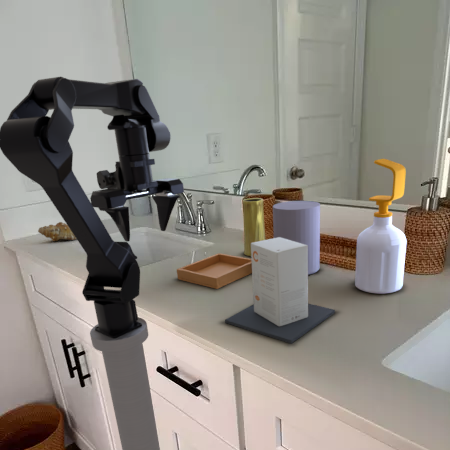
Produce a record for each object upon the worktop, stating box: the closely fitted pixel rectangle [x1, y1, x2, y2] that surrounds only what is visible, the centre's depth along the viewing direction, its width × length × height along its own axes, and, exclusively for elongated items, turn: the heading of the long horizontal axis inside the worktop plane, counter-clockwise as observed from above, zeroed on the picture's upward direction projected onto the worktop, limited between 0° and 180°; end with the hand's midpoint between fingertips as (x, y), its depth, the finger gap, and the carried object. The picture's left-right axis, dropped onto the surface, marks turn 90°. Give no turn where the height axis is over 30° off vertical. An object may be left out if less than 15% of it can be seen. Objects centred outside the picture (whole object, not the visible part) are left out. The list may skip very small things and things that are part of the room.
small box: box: [250, 237, 309, 326], centre depth 74 cm, size 8×6×13 cm
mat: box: [224, 303, 336, 344], centre depth 76 cm, size 14×14×1 cm
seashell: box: [37, 221, 77, 242], centre depth 146 cm, size 9×8×10 cm
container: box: [272, 200, 321, 276], centre depth 97 cm, size 10×10×15 cm
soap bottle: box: [354, 158, 408, 295], centre depth 82 cm, size 9×9×25 cm
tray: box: [176, 252, 252, 290], centre depth 101 cm, size 15×13×2 cm
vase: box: [242, 197, 267, 257], centre depth 112 cm, size 6×6×14 cm
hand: (145, 235), depth 87 cm, fingers open, 9 cm apart
